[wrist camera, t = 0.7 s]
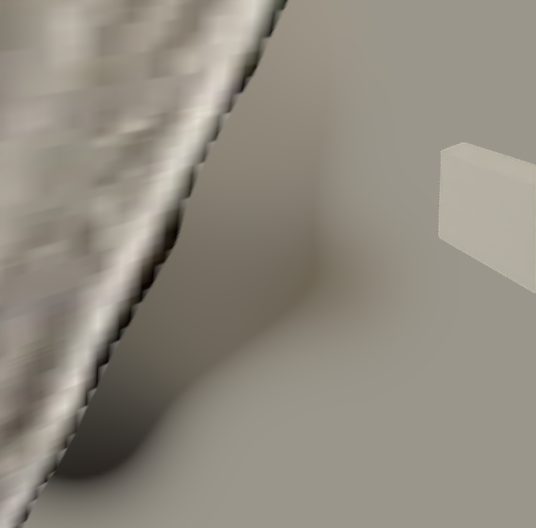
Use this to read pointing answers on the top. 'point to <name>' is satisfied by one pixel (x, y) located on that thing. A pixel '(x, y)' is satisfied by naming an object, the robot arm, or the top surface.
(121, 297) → the top surface
